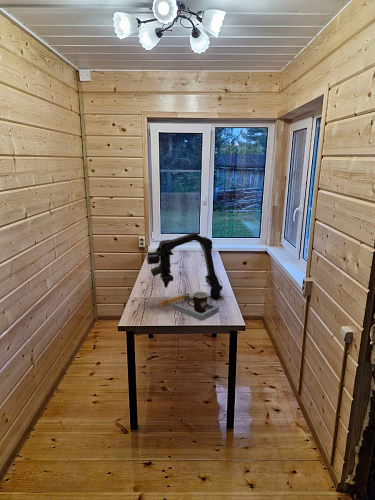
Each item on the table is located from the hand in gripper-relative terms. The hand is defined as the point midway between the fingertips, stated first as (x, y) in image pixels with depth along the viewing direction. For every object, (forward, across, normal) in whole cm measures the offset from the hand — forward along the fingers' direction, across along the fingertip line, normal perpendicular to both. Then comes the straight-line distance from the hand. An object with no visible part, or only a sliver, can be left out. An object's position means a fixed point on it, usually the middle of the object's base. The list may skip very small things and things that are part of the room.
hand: (165, 287), depth 190 cm
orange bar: (+9, 0, +5) cm, 11 cm away
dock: (+11, +9, +14) cm, 20 cm away
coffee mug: (+11, +13, +16) cm, 23 cm away
